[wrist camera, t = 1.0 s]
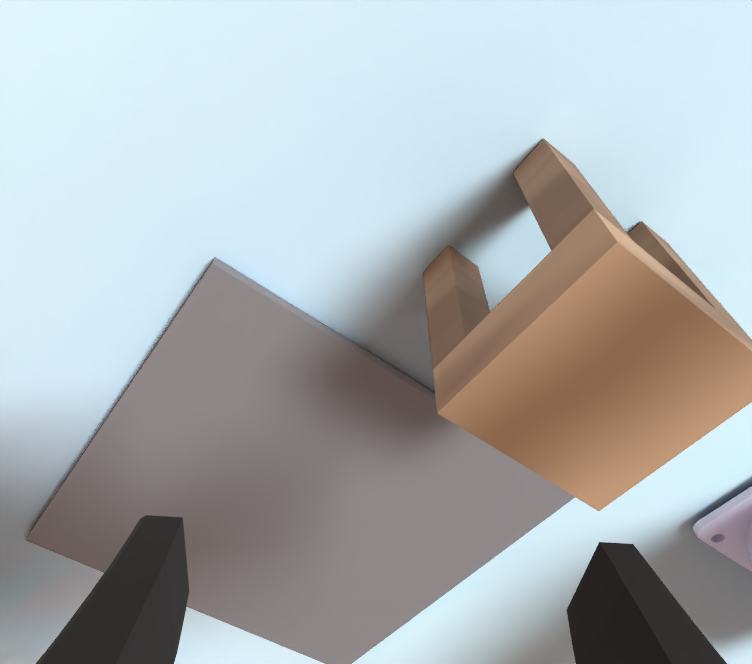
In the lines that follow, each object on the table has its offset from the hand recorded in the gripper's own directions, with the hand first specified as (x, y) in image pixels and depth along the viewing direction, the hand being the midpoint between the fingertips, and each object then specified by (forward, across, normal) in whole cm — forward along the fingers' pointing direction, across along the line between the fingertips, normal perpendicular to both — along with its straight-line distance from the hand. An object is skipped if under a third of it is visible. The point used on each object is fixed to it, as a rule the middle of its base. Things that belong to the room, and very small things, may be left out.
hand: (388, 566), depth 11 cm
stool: (+10, -5, -1) cm, 11 cm away
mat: (+10, +2, +11) cm, 15 cm away
